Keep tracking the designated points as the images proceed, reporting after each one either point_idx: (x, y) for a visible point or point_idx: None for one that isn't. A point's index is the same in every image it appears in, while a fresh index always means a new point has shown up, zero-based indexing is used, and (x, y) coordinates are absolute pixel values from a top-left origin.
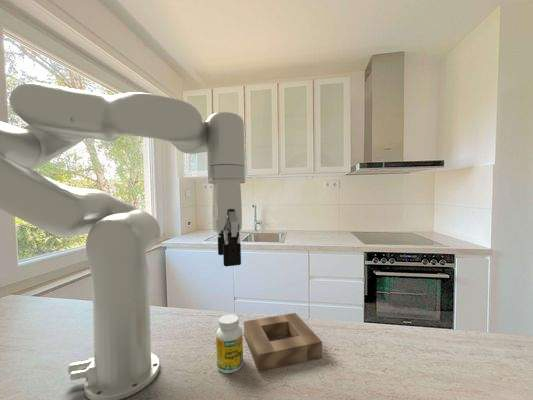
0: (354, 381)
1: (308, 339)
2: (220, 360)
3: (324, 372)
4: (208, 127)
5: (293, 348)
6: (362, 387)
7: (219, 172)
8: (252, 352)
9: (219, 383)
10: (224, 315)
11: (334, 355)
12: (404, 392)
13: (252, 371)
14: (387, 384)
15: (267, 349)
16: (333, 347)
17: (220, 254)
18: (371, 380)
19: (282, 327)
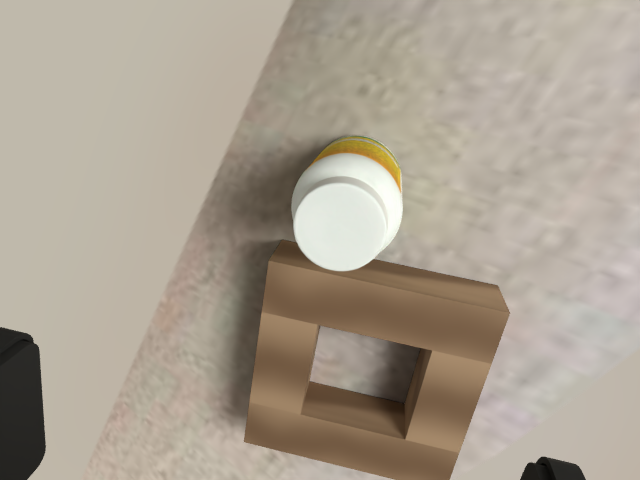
0: (158, 406)
1: (269, 420)
2: (330, 145)
3: (209, 376)
4: None
5: (255, 362)
6: (138, 405)
7: None
8: None
9: (291, 120)
10: (382, 222)
11: None
12: (101, 453)
13: None
14: (128, 447)
15: (281, 297)
16: (282, 457)
17: (526, 472)
18: (148, 434)
19: (410, 407)
